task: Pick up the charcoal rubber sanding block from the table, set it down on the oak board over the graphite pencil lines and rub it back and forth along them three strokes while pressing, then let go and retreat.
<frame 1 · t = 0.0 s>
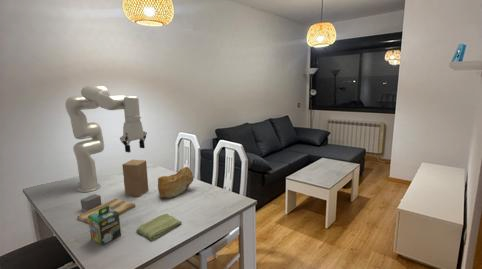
hand: (135, 149, 138), 31 cm above the table, tool pointing down, fingers open, 9 cm apart
chalk box: (106, 237, 111), on the table
sanding block: (91, 207, 138), on the table
rough brown rock: (173, 192, 159), on the table
washcloth: (159, 229, 119), on the table
board: (107, 212, 133), on the table
wooden block: (137, 192, 157), on the table
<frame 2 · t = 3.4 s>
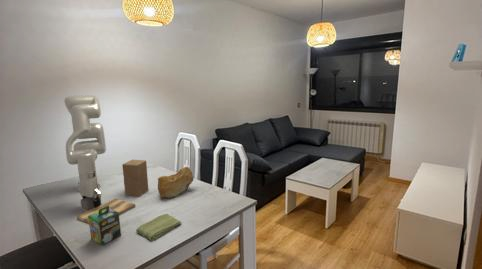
hand: (91, 204, 138), 2 cm above the table, tool pointing down, fingers open, 8 cm apart
nothing on the table moved.
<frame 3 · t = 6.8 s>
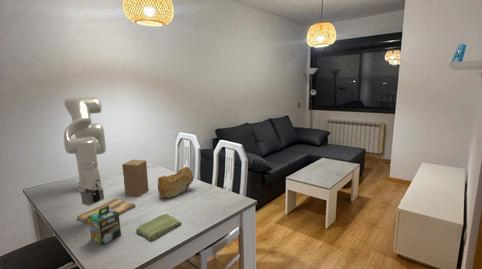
hand: (92, 200, 124), 10 cm above the table, tool pointing down, fingers closed on sanding block, 5 cm apart
sanding block: (93, 201, 124), point 9 cm above the table, touching gripper
everything else where it was.
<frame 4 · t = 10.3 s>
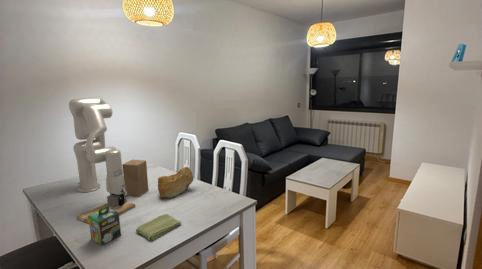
hand: (118, 203, 138), 2 cm above the table, tool pointing down, fingers closed on sanding block, 5 cm apart
sanding block: (117, 204, 138), point 2 cm above the table, touching gripper
everything else where it was.
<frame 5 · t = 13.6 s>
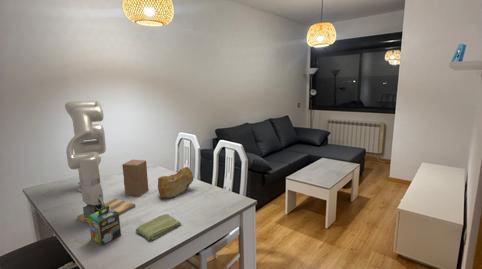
hand: (95, 214, 126), 2 cm above the table, tool pointing down, fingers closed on sanding block, 5 cm apart
sanding block: (95, 215, 126), point 2 cm above the table, touching board, gripper
everything else where it was.
when the fingers open (3 cm above the table, at t = 16.7 s): sanding block stays where it is, resting on board.
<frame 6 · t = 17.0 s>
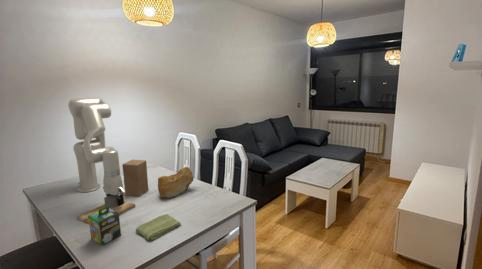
hand: (115, 203, 136), 3 cm above the table, tool pointing down, fingers open, 8 cm apart
sanding block: (115, 206, 136), point 2 cm above the table, touching board
everything else where it was.
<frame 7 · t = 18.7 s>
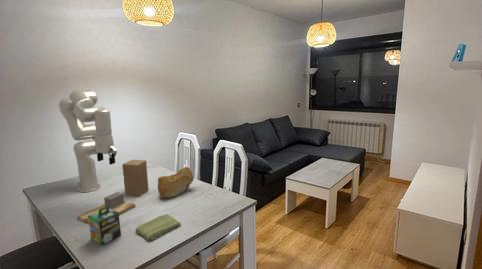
hand: (106, 162, 139), 24 cm above the table, tool pointing down, fingers open, 9 cm apart
nothing on the table moved.
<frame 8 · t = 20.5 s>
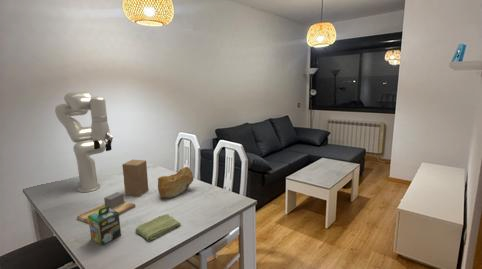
hand: (102, 149, 142), 30 cm above the table, tool pointing down, fingers open, 9 cm apart
nothing on the table moved.
at the end: sanding block inside the target area on the board (4.6 cm from its centre), point 1.6 cm above the board's base; the gripper is holding nothing; sanding block tilted 0° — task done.
